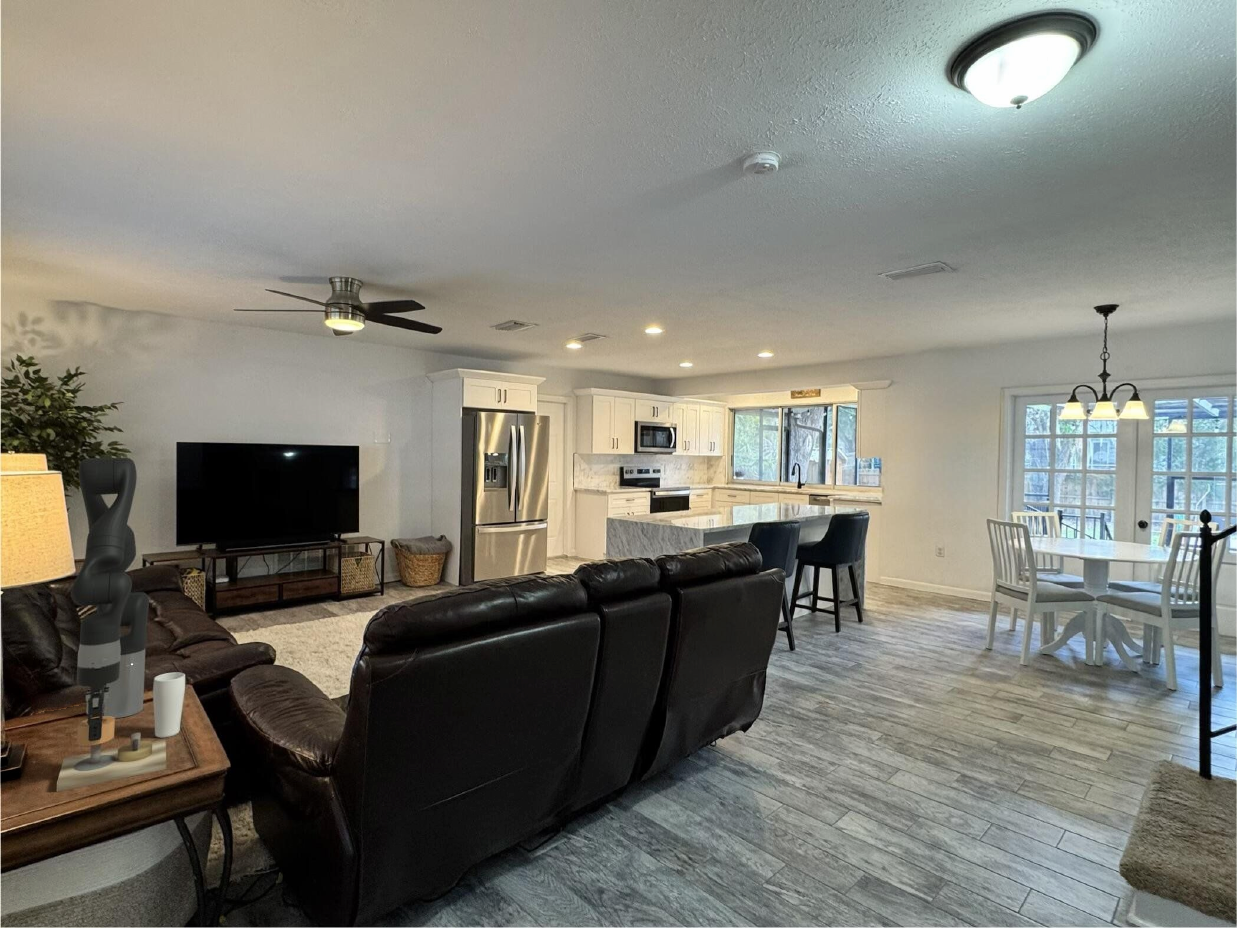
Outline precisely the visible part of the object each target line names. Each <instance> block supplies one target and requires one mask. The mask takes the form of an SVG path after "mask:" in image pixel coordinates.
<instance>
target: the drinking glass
mask: <svg viewBox="0 0 1237 928" xmlns="http://www.w3.org/2000/svg"><path fill="white" fill-rule="evenodd" d="M185 692H186V674H185V673H183V672H179V671H178V672H175V671H174V672H168V673H166V672H165V673H162V674H159V675H157V676H155V677H154V678H153V687H152V701H153V703H152V704H153V714H154V715H153V716H154V736H155V737H157V738H163V739H164V738H169V737H173V736H176V735H178V734H179V732H180V730H181V720H182V713H183V706H184V699H185Z"/></svg>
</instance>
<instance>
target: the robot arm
mask: <svg viewBox="0 0 1237 928" xmlns="http://www.w3.org/2000/svg"><path fill="white" fill-rule="evenodd" d="M78 481H79V486H80V490H81V495H82V499H83V503H84V507H85V512H86V515H87V523H88V534H87V538H86V547H85V556H84V561H83V564H82V566H81V569H80V570H79V572H78V575H77V576H76V578H75V579H74V582H73V584H72V586H71V589H70V590H71V592H70V597H71V600H72V601H73V603H74V604H75V605H78V606H81V607H83V606H84V607H85V606H96V608H97V611H96V612H97V613H94V614H90V615H88V616H85V617H84V618H83V619H82V620H81V622H80V633H79V646H78V653H77V665H76V668H77V669H76V684H77V685H78V686H80V687H89V688H90V689H89V688H88V689H87V691H86V693H85V701H86V709H85V711H86V712H85V713H86V715H87V719H88V721H87V723H88V725H89V738H88V740H89V741H95V740H100V739H101V736H102V722H103V716H112V717H115V719H119V718H125V717H129V716H132V715H135V714H138V713H140V712H142V710H143V709H144V693H145V691H144V689H145V664H146V641H147V628H148V627H147V626H148V616H149V610H150V609H149V608H150V600H149V596H148V595H147V593H146V592H144V591H143V592H141V591H140V592H139V591H138V592H136V591H135V592H131V590H132V586H133V582H132V579H131V577H130V576H129V575H128V574H127V573H126V571H127V570H128V569H129V567H130V566H131V565H132V563H133V562H134V561H135V558H136V556H137V547H136V538H135V533H134V530H133V529H132V528H131V527H130V525H128V521H129V517H130V513H131V510H132V505H133V501H134V497H135V493H136V492H135V491H136V487H137V468H136V464H135V462H134V460H133V459H131V458H130V457H90V458H84V459H82V461H81V462H80V463H79V466H78ZM102 495H104V496H105V495H116V498H115V500H114V501H113V502H112V504H111V505H110V506H108V504H107V503H106V501H105V500H104V498H103V496H102ZM124 627H125V628H126V627H130V630H129V631H128V632H127V633H124V634H122V635H121V628H124ZM94 717H99V718H94ZM92 718H93V719H92Z"/></svg>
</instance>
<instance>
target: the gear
mask: <svg viewBox="0 0 1237 928" xmlns="http://www.w3.org/2000/svg"><path fill="white" fill-rule="evenodd" d="M94 718H99V717H94ZM92 719H93V718H92ZM87 721H88V718H87V719H84V720H81V721H80V722H79V723H78V725H77V736H76V737H77V739H76V745H78V746H81V747H82V746H83V747H84V746H85V747H88V746H90V747H91V745H96V744H101V745H102V744H103V743H104V744H105V743H107V742H109V741H110V740H113V739H114V738H115V725H116V724H115V721H116V718H115V717H112V716H103V722H102V736H101V739H100V740H95V741H89V740H88V738H89V725H88V723H87Z"/></svg>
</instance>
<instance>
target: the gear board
mask: <svg viewBox="0 0 1237 928" xmlns="http://www.w3.org/2000/svg"><path fill="white" fill-rule="evenodd" d="M141 734H142V733H141V732H134V733H132V734H130V742H129V743H126V744H124V745H122V746H120V747H117V748H116V747H115V748H110V749H105V750H101V749H102V743H101V744H96V745H91V746H90V752H89V753H84V754H77V755H72V756H68V757H67V756H66V757H64V758H63V760H62V764H61V768H60V772H59V774H58V779H57V781H56V792H63V791H68V790H72V789H76V788H82V787H86V786H87V787H88V786H92V785H95V784H96V785H97V784H102V783H106V782H111V781H115V780H121V779H125V778H129V777H135V776H140V775H144V774H149V773H154V772H159V771H165V770H167V740H166V739H164V738H163V739H160V740H155V741H149V740H141V737H142V736H141Z"/></svg>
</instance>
